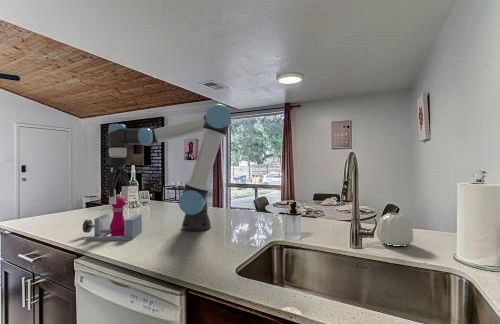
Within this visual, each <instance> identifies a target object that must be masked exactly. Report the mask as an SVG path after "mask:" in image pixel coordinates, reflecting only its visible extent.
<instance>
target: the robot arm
mask: <svg viewBox="0 0 500 324" xmlns="http://www.w3.org/2000/svg"><path fill="white" fill-rule="evenodd" d="M231 113H232V112H231V111H230V109H229V108H228V107H227V106H226V105H224V104H220V103H216V104H215V103H214V104H212V105H210V106H209V107H208V108H207V110H206V111H205V114H204V115H202V117H199V118H196V119H191V120H187V121H183V122H179V123H178V122H177V123H175V124H170V125H165V126H162V127H158V128H157V127H156V128H153V129H150V128H145V127H144V128H143V127H141V128H140V127H139V128H127V126H126V124H123V123H112V124H109V125H108V134H107V135H108V156H109V158H108V160H109V163H108V164H109V166H112V167H109V168H108V176H107V181H106V186H105V189H106V190H108V203H109V205H111V204H116V198H117V197H116V195H117V190H116V189H115V188H116V186H117V183H118V180H119V181H120V182H121V183H120V184H121V185H122V186H121V198H123V199H124V200H129V189H128V188H129V187H130V186H131V183H130V179H129V174H128V169H127V166H126V165H127V163H128V162H127V161H128V160H127V152H128V150H127V145H141V146H147V147H150V146H151V147H152V146H153V145H156V144H159V143H162V142H163V143H164V142H168V141H172V140H176V139H181V138H185V137H189V136H193V135H198V134H201V133H204V135H203V137H202V140H201V143H200V145H199V149H198V154H197V156H196V160H195V163H194V167H193V168H192V172H191V176H190V179H189V181H187V182H185V184H184V187H183V191H182V193H181V194H180V196H179V199H178V206H179V208H180V210H181V211H182V212H183V213H184V217H183V221H182V223H181V229H182V230H183V231H187V232H200V231H206V230H209V229H211V227H212V225H211V220H210V216H209V214H208V213H209V212H208V194H209V190H210V188H209V186H208V184H209V181H210V177H211V174H212V171H213V167H214V164H215V161H216V158H217V154H218V151H219V148H220V146H221V142H222V139H223V138H225V137H226V136H227V132H228V129H229V127H230V125H231V123H232V114H231Z"/></svg>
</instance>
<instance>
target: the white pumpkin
mask: <svg viewBox="0 0 500 324" xmlns="http://www.w3.org/2000/svg"><path fill="white" fill-rule="evenodd" d="M376 237H377V238H378V240H379V241H380V242H381V243H382V242H384V243H386V244H391V245H400V246H404V245H408V246H409V245H410V244H411V243H412V242H413V241H414V231H413V225H412V224H411V221H410V220H409V218H407V217H406V216H405V215H403V214H402V213H399V212H398V213H397V212H387V213H386V214H384V215H382V216H381V217H380V218H379V220H378V221H377V227H376ZM384 243H383V244H384ZM386 244H385V245H386Z"/></svg>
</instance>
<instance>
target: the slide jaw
mask: <svg viewBox="0 0 500 324" xmlns="http://www.w3.org/2000/svg"><path fill="white" fill-rule="evenodd" d="M93 221H94V223H93ZM93 221H92V219H85V220H84V221H83V224H82V231H83V233H86V234H88V233H90V232H91V231H92V229H93V228H94V232H93V233H94V236H93V237H97V236H106V235H107V234H109V232H110V224H111V215H110V214H102V215H101V216H98V217H95V218H94V219H93Z"/></svg>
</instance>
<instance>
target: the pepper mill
mask: <svg viewBox="0 0 500 324" xmlns="http://www.w3.org/2000/svg"><path fill="white" fill-rule="evenodd" d="M125 204H126V199H123V198H122V196H121V195H120V194H119V193H116V204H110V205H111V206H112V210H111V211H112V213H113V215H112V216H113V217H112V220H111V221H110V230H111V231H112V233H110V236H125V231H124V230H125V220H126V219H125V217H124V210H125V207H124V206H125Z"/></svg>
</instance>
